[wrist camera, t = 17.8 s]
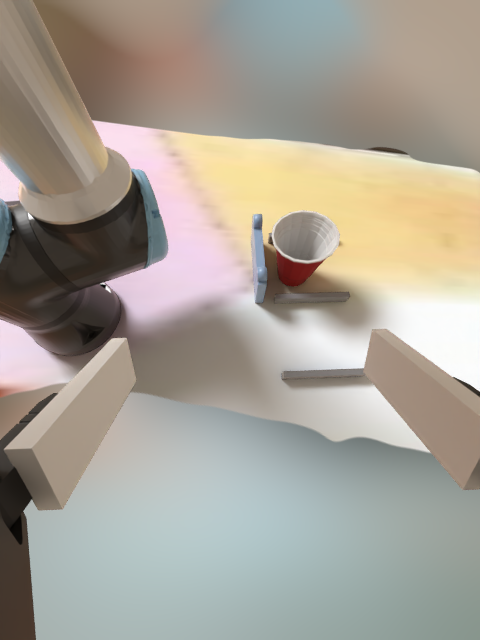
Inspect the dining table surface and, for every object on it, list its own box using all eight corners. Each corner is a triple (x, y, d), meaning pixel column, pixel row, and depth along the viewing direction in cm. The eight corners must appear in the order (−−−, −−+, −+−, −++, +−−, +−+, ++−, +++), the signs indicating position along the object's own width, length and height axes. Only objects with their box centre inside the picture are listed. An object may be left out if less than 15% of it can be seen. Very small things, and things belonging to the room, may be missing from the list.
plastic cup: (275, 245, 52) (286, 199, 41) (323, 263, 51) (348, 220, 40) (256, 285, 49) (261, 246, 38) (307, 306, 47) (328, 271, 36)
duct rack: (260, 380, 42) (265, 371, 34) (250, 239, 53) (253, 208, 45) (362, 376, 42) (391, 366, 34) (331, 237, 53) (348, 205, 45)
